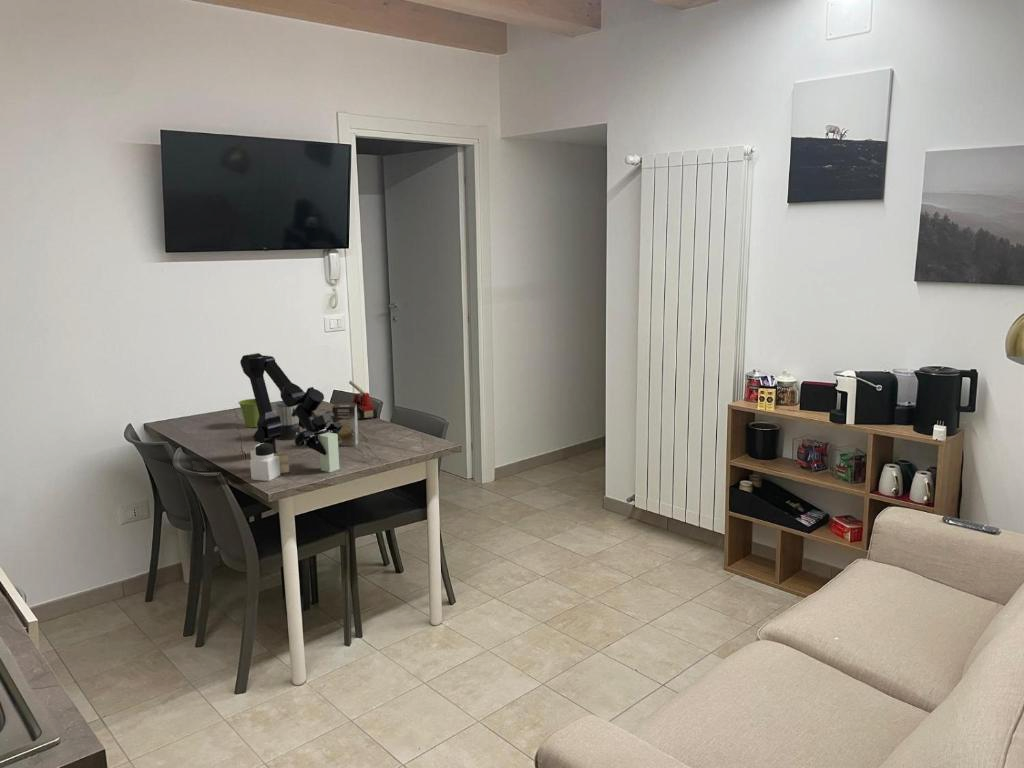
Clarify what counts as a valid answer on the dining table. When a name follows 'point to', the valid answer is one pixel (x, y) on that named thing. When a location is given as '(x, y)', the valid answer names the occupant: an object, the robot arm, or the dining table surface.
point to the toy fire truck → (363, 404)
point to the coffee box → (346, 423)
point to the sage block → (329, 452)
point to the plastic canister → (252, 454)
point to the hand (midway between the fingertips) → (331, 452)
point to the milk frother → (288, 421)
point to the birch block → (283, 462)
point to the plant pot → (249, 412)
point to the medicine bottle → (264, 463)
